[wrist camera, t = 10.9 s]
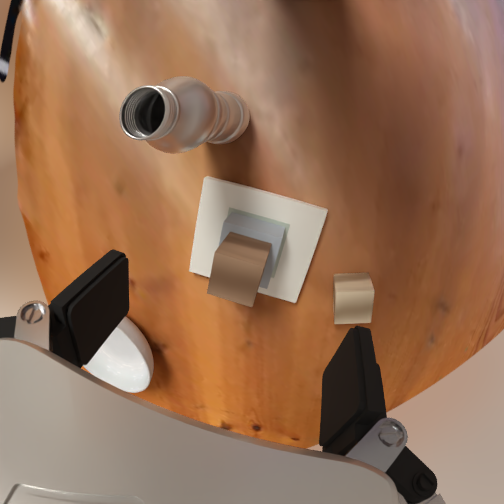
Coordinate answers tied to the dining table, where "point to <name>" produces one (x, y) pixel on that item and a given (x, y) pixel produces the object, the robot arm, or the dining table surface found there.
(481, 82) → the dining table surface
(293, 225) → the board
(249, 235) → the base block
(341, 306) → the birch block
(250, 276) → the walnut block
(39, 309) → the robot arm
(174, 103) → the plastic bottle
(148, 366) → the serving bowl
